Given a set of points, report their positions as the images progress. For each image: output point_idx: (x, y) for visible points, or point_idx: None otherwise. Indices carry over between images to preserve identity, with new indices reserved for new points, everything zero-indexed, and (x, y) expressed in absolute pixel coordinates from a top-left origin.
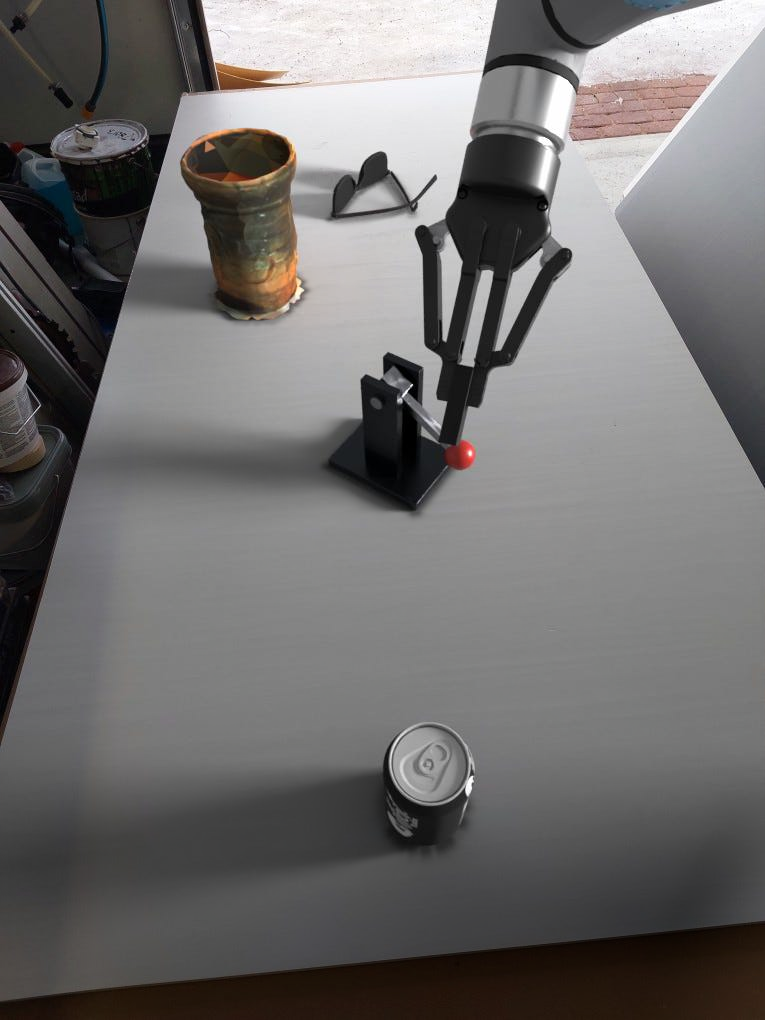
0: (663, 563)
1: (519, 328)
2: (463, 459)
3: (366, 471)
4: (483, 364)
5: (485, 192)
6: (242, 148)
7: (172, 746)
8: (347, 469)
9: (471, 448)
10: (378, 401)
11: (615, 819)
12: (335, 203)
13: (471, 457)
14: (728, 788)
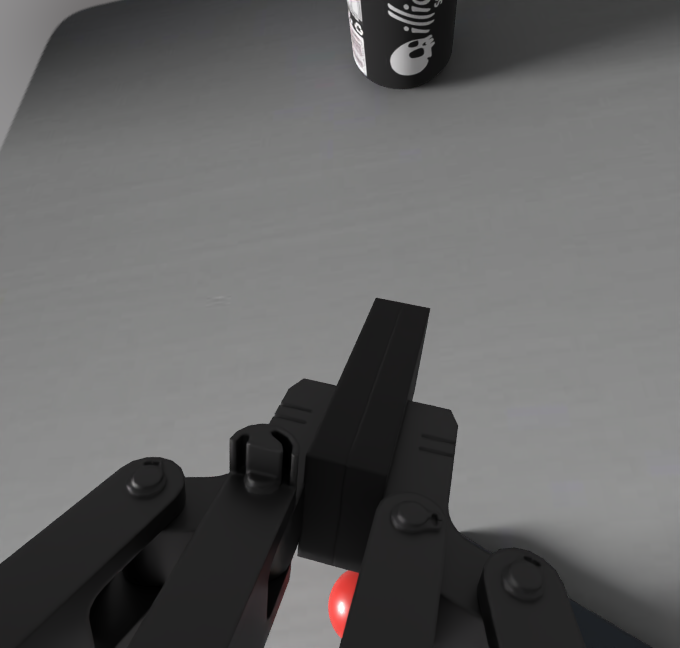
0: (16, 436)
1: (24, 592)
2: (357, 575)
3: (583, 629)
4: (257, 430)
5: None
6: None
7: None
8: (631, 635)
9: (337, 608)
10: None
11: (178, 72)
12: None
13: (337, 585)
14: (42, 118)
